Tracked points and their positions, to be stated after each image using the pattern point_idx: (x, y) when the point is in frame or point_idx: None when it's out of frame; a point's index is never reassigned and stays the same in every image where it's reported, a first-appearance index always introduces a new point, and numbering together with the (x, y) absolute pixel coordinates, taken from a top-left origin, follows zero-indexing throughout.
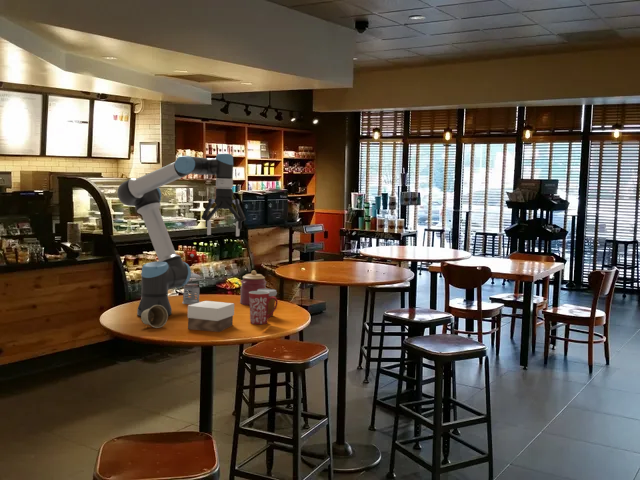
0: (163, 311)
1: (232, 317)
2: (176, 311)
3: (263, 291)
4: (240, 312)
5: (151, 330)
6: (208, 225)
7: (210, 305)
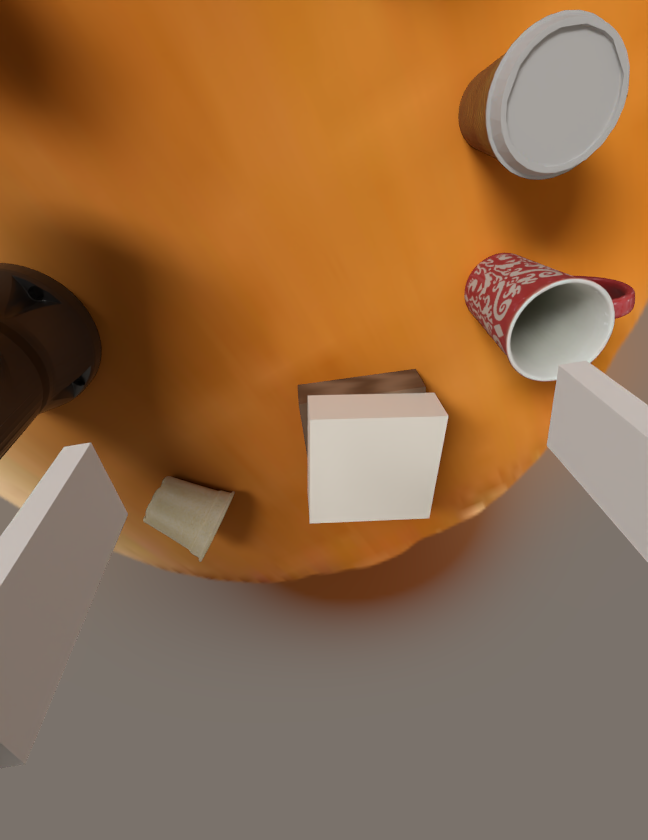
0: (212, 508)
1: (423, 383)
2: (49, 237)
3: (576, 282)
4: (336, 81)
5: (233, 529)
6: (64, 650)
7: (379, 487)
